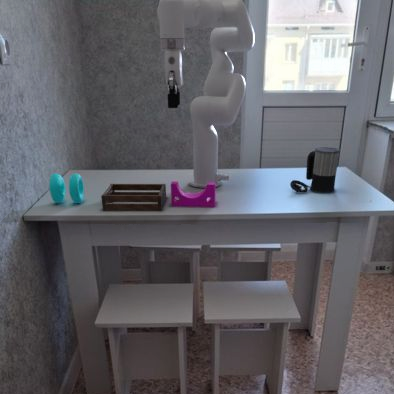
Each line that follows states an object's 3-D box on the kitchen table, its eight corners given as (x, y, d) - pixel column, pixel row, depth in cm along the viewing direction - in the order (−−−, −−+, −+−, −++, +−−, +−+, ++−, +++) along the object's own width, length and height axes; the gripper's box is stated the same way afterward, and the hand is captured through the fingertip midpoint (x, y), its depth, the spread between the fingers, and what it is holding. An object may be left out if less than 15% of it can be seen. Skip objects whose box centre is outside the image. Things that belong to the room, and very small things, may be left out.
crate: (166, 197, 179) (165, 183, 176) (161, 210, 165) (160, 195, 162) (112, 197, 180) (110, 183, 177) (102, 210, 165) (101, 195, 163)
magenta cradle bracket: (215, 202, 174) (215, 180, 170) (214, 207, 168) (214, 184, 164) (173, 201, 175) (173, 179, 171) (171, 206, 169) (170, 184, 165)
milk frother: (339, 190, 187) (345, 149, 179) (317, 198, 177) (322, 155, 169) (307, 184, 195) (311, 144, 187) (284, 191, 185) (288, 150, 178)
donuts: (59, 199, 178) (54, 170, 173) (86, 199, 178) (82, 170, 173) (51, 206, 170) (46, 177, 165) (79, 206, 170) (75, 177, 164)
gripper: (182, 45, 145) (183, 109, 154) (185, 45, 160) (186, 103, 169) (157, 45, 146) (160, 109, 155) (163, 45, 160) (165, 104, 169)
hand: (174, 106), depth 162 cm, fingers open, 9 cm apart
